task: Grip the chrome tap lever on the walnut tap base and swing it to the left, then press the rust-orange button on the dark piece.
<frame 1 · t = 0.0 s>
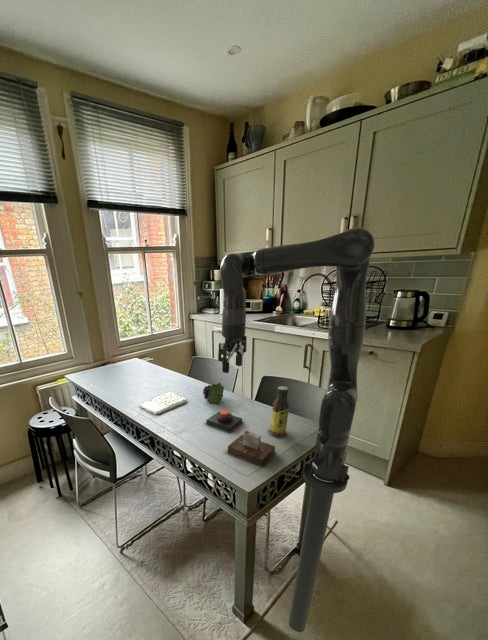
hand: (232, 369, 109), 31 cm above the table, tool pointing down, fingers open, 8 cm apart
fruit: (212, 401, 158), on the table
tap base: (250, 452, 117), on the table
calculator: (163, 404, 157), on the table
tap lever: (251, 439, 114), point 6 cm above the table, hinge at 0.0°
button: (224, 414, 135), point 5 cm above the table, slide at 0.2 cm
sauce bottle: (277, 433, 129), on the table
dark piece: (224, 423, 137), on the table
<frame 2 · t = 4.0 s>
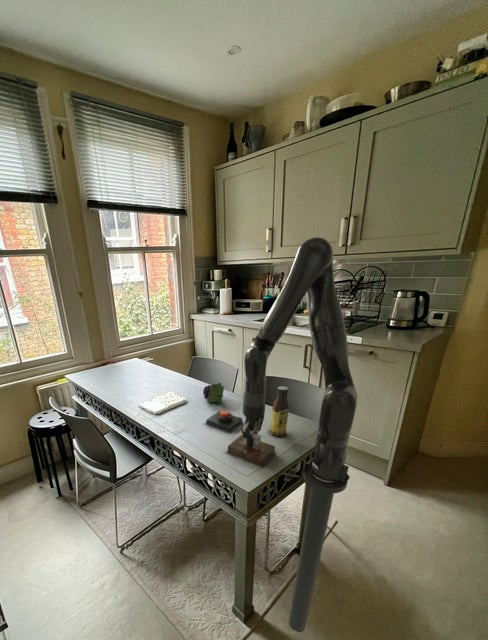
hand: (251, 444, 115), 4 cm above the table, tool pointing down, fingers closed on tap lever, 2 cm apart
tap lever: (251, 439, 114), point 6 cm above the table, hinge at 0.0°, touching gripper
everything else where it was.
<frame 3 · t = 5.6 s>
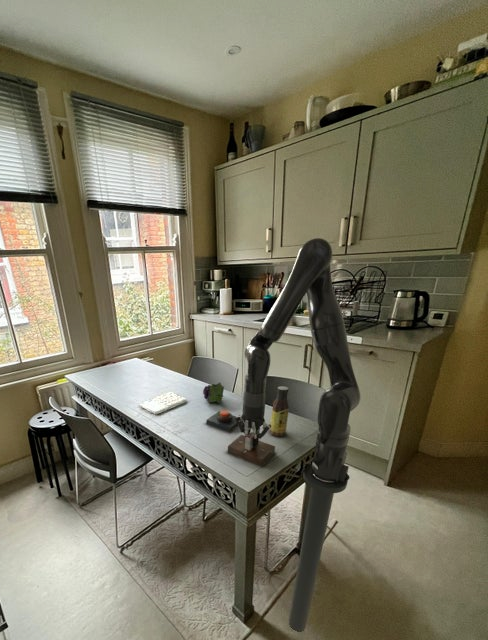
hand: (251, 444, 115), 4 cm above the table, tool pointing down, fingers closed on tap lever, 2 cm apart
tap lever: (251, 439, 114), point 6 cm above the table, hinge at 90.2°, touching gripper
everything else where it was.
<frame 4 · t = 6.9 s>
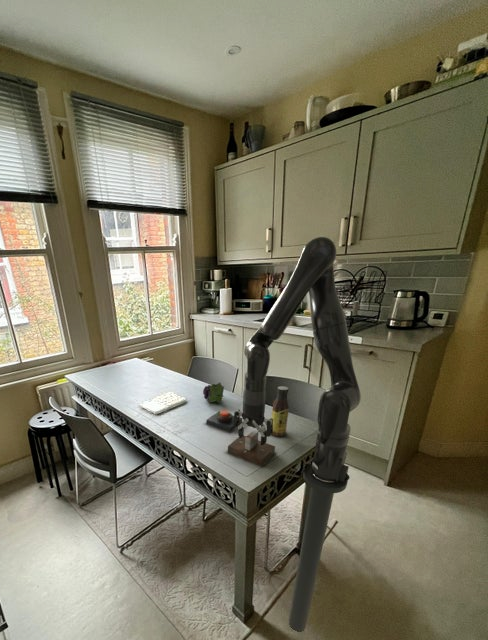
hand: (251, 440, 114), 6 cm above the table, tool pointing down, fingers open, 8 cm apart
tap lever: (251, 439, 114), point 6 cm above the table, hinge at 89.7°
everything else where it was.
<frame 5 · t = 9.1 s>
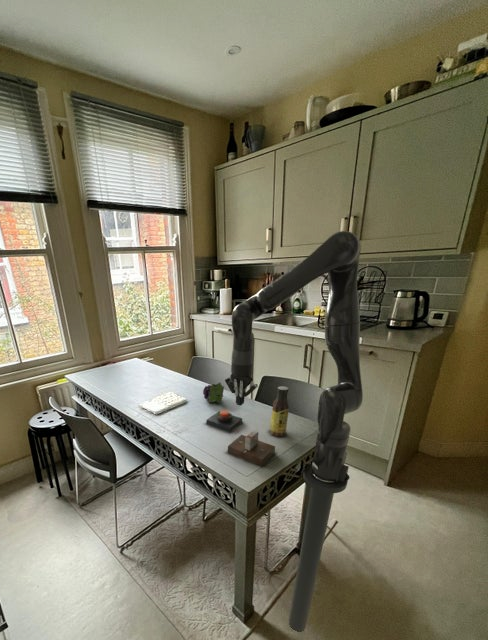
hand: (239, 404, 119), 16 cm above the table, tool pointing down, fingers closed
nothing on the table moved.
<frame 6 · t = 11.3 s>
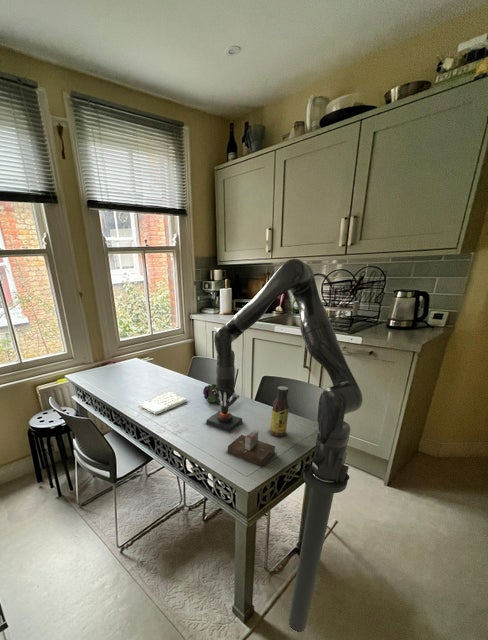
hand: (224, 412, 135), 5 cm above the table, tool pointing down, fingers closed
button: (224, 414, 136), point 4 cm above the table, slide at -0.1 cm, touching gripper
everything else where it was.
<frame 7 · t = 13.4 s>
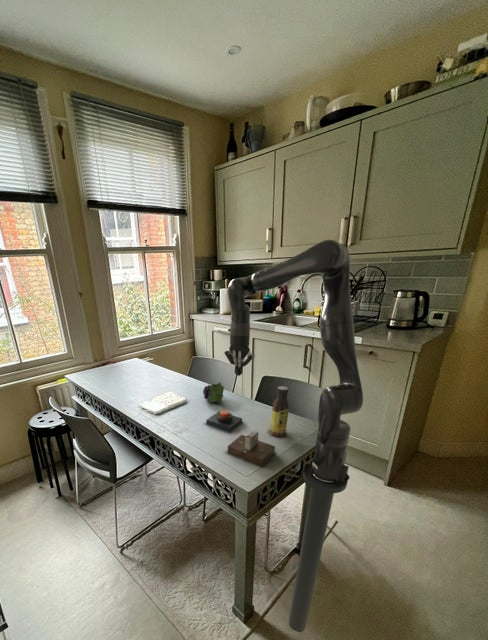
hand: (238, 374, 129), 22 cm above the table, tool pointing down, fingers closed
button: (224, 414, 135), point 5 cm above the table, slide at 0.2 cm
everything else where it was.
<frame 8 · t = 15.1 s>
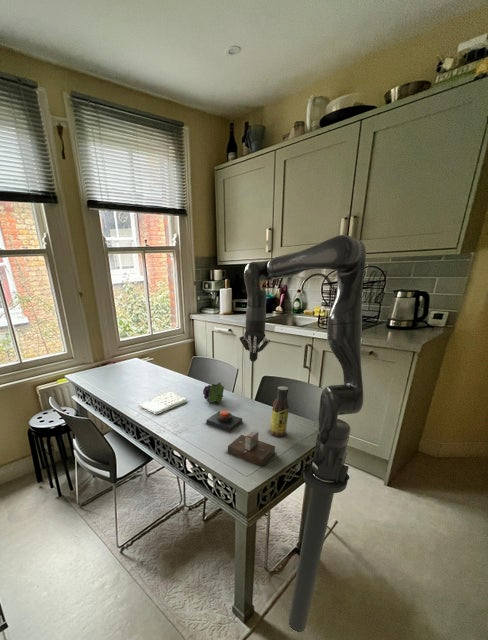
hand: (253, 360, 129), 27 cm above the table, tool pointing down, fingers closed
nothing on the table moved.
at the end: tap lever at +90° (first picture: +0°); button pushed in 1.1 cm at the most during the clip, back to 0.2 cm at the end; button slide at 0.2 cm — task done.
